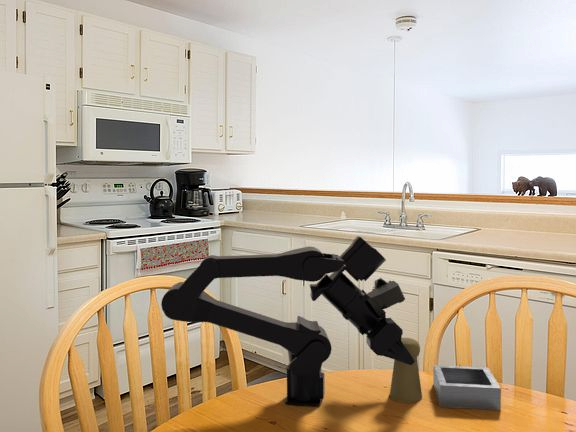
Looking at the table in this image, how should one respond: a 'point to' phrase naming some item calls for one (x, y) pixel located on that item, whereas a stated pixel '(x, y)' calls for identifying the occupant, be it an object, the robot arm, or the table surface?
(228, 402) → the table surface
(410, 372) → the olive pawn
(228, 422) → the table surface
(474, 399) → the open gray box
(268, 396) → the table surface
